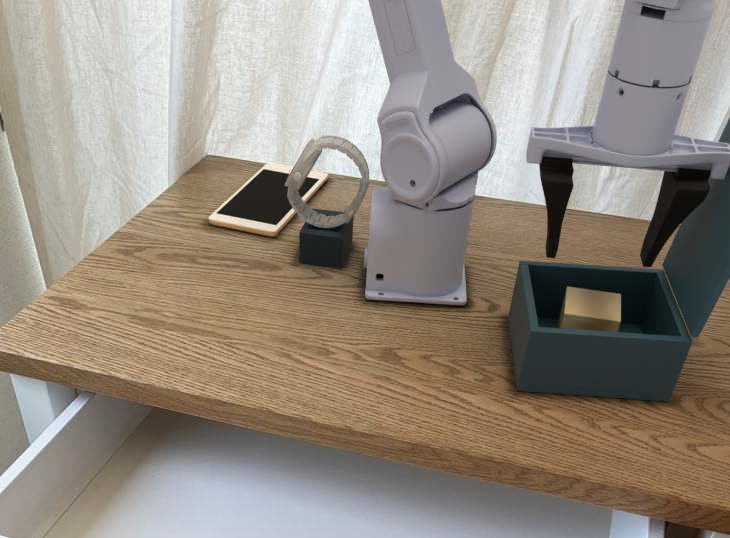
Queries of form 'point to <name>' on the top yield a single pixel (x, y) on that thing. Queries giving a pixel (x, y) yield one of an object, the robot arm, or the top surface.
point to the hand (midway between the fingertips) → (597, 256)
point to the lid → (702, 253)
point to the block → (590, 310)
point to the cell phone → (264, 201)
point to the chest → (597, 334)
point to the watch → (324, 227)
